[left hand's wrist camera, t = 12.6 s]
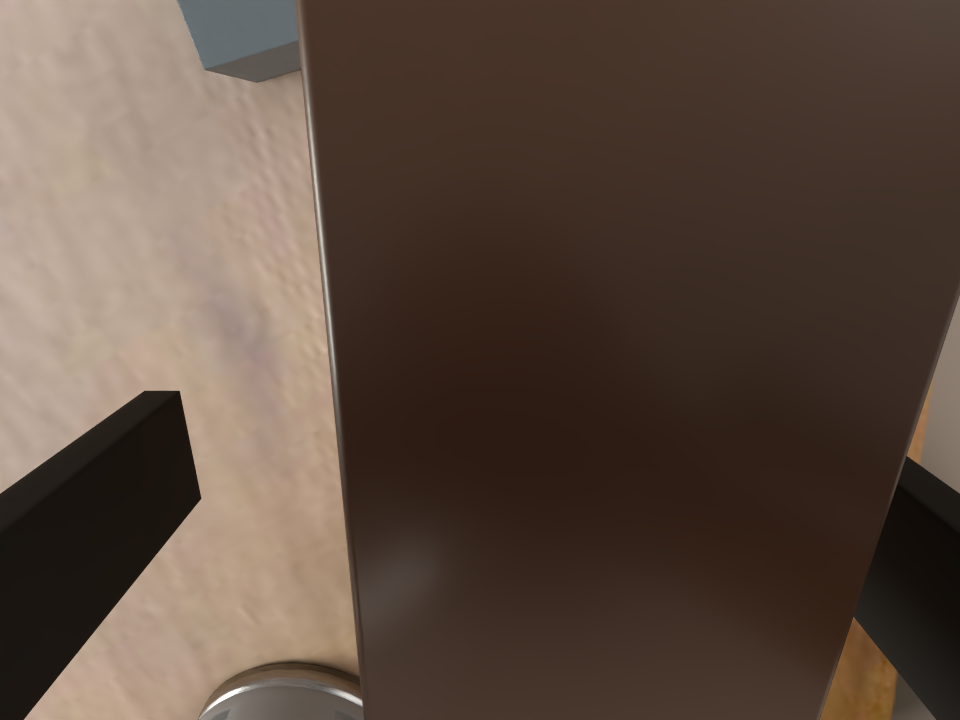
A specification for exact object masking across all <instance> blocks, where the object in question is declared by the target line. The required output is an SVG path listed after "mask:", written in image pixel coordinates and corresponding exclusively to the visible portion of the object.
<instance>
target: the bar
mask: <svg viewBox="0 0 960 720" xmlns="http://www.w3.org/2000/svg"><path fill="white" fill-rule="evenodd" d="M294 1H295V11H296V21H297V32H298V42H299V52H300V63H301V73H302V83H303V94H304V104H305V114H306V125H307V135H308V146H309V156H310V166H311V177H312V187H313V197H314V208H315V218H316V228H317V239H318V249H319V259H320V270H321V280H322V291H323V301H324V311H325V322H326V332H327V342H328V353H329V363H330V373H331V384H332V394H333V404H334V415H335V425H336V436H337V446H338V456H339V467H340V477H341V487H342V498H343V508H344V518H345V529H346V539H347V549H348V560H349V570H350V581H351V591H352V601H353V612H354V622H355V632H356V643H357V653H358V663H359V674H360V684H361V694H362V705H363V715H364V720H819V719H820V716H821V713H822V710H823V707H824V704H825V701H826V698H827V695H828V692H829V689H830V686H831V683H832V680H833V677H834V674H835V671H836V668H837V665H838V662H839V659H840V656H841V653H842V650H843V647H844V643H845V640H846V637H847V634H848V631H849V628H850V625H851V622H852V619H853V616H854V613H855V610H856V607H857V604H858V601H859V598H860V595H861V592H862V589H863V586H864V583H865V580H866V577H867V574H868V571H869V568H870V565H871V562H872V559H873V556H874V553H875V550H876V547H877V544H878V541H879V538H880V535H881V532H882V528H883V525H884V522H885V519H886V516H887V513H888V510H889V507H890V504H891V501H892V498H893V495H894V492H895V489H896V486H897V483H898V480H899V477H900V474H901V471H902V468H903V465H904V462H905V459H906V456H907V453H908V450H909V447H910V444H911V441H912V438H913V435H914V432H915V429H916V426H917V423H918V420H919V416H920V413H921V410H922V407H923V404H924V401H925V398H926V395H927V392H928V389H929V386H930V383H931V380H932V377H933V374H934V371H935V368H936V365H937V362H938V359H939V356H940V353H941V350H942V347H943V344H944V341H945V338H946V335H947V332H948V329H949V326H950V323H951V320H952V317H953V314H954V311H955V308H956V304H957V301H958V298H959V295H960V0H294Z"/></svg>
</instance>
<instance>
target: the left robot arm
mask: <svg viewBox="0 0 960 720" xmlns="http://www.w3.org/2000/svg"><path fill="white" fill-rule="evenodd" d="M200 499H201V495H200V490H199V485H198V480H197V475H196V470H195V465H194V460H193V455H192V450H191V445H190V440H189V435H188V430H187V425H186V420H185V415H184V410H183V405H182V400H181V395H180V391H144V392H142V393H141V394H140V395H138V396H137V397H135V398H134V399H133V400H131V401H130V402H128V403H127V404H125V405H124V406H123V407H121V408H120V409H118V410H117V411H116V412H114V413H113V414H111V415H110V416H109V417H107V418H106V419H104V420H103V421H102V422H100V423H99V424H97V425H96V426H95V427H93V428H92V429H90V430H89V431H88V432H86V433H85V434H83V435H82V436H81V437H79V438H78V439H76V440H75V441H74V442H72V443H71V444H69V445H68V446H67V447H65V448H64V449H62V450H61V451H60V452H58V453H57V454H55V455H54V456H53V457H51V458H50V459H48V460H47V461H46V462H44V463H43V464H41V465H40V466H39V467H37V468H36V469H34V470H33V471H32V472H30V473H29V474H27V475H26V476H25V477H23V478H22V479H20V480H19V481H18V482H16V483H15V484H13V485H12V486H11V487H9V488H8V489H6V490H5V491H4V492H2V493H1V494H0V720H24V719H25V717H26V716H27V715H28V714H29V712H30V711H31V710H32V709H33V707H34V706H35V705H36V704H37V702H38V701H39V700H40V699H41V697H42V696H43V695H44V694H45V692H46V691H47V690H48V689H49V687H50V686H51V685H52V684H53V682H54V681H55V680H56V679H57V677H58V676H59V675H60V674H61V672H62V671H63V670H64V669H65V667H66V666H67V665H68V664H69V663H70V661H71V660H72V659H73V658H74V656H75V655H76V654H77V653H78V651H79V650H80V649H81V648H82V646H83V645H84V644H85V643H86V641H87V640H88V639H89V638H90V636H91V635H92V634H93V633H94V631H95V630H96V629H97V628H98V626H99V625H100V624H101V623H102V621H103V620H104V619H105V618H106V616H107V615H108V614H109V613H110V611H111V610H112V609H113V608H114V607H115V605H116V604H117V603H118V602H119V600H120V599H121V598H122V597H123V595H124V594H125V593H126V592H127V590H128V589H129V588H130V587H131V585H132V584H133V583H134V582H135V580H136V579H137V578H138V577H139V575H140V574H141V573H142V572H143V570H144V569H145V568H146V567H147V565H148V564H149V563H150V562H151V560H152V559H153V558H154V557H155V555H156V554H157V553H158V552H159V551H160V549H161V548H162V547H163V546H164V544H165V543H166V542H167V541H168V539H169V538H170V537H171V536H172V534H173V533H174V532H175V531H176V529H177V528H178V527H179V526H180V524H181V523H182V522H183V521H184V519H185V518H186V517H187V516H188V514H189V513H190V512H191V511H192V509H193V508H194V507H195V506H196V504H197V503H198V502H199V501H200ZM854 618H855V619H856V620H857V621H858V623H859V624H860V625H861V626H862V628H863V629H864V630H865V631H866V633H867V634H868V635H869V636H870V638H871V639H872V640H873V641H874V643H875V644H876V645H877V646H878V648H879V649H880V650H881V651H882V653H883V654H884V655H885V656H886V658H887V659H888V660H889V661H890V663H891V664H892V665H893V666H894V667H895V669H896V670H897V671H898V672H899V674H900V675H901V676H902V677H903V679H904V680H905V681H906V682H907V684H908V685H909V686H910V687H911V689H912V690H913V691H914V692H915V694H916V695H917V696H918V697H919V699H920V700H921V701H922V702H923V704H924V705H925V706H926V707H927V709H928V710H929V711H930V712H931V713H932V715H933V716H934V717H935V719H936V720H960V494H959V493H958V492H956V491H955V490H954V489H952V488H951V487H949V486H948V485H947V484H945V483H944V482H942V481H941V480H940V479H938V478H937V477H935V476H934V475H933V474H931V473H930V472H928V471H927V470H926V469H924V468H923V467H921V466H920V465H919V464H917V463H916V462H914V461H913V460H912V459H910V458H909V457H907V456H906V459H905V462H904V465H903V468H902V471H901V474H900V477H899V480H898V483H897V486H896V489H895V492H894V495H893V498H892V501H891V504H890V507H889V510H888V513H887V516H886V519H885V522H884V525H883V528H882V532H881V535H880V538H879V541H878V544H877V547H876V550H875V553H874V556H873V559H872V562H871V565H870V568H869V571H868V574H867V577H866V580H865V583H864V586H863V589H862V592H861V595H860V598H859V601H858V604H857V607H856V610H855V613H854ZM198 720H364V715H363V705H362V694H361V684H360V679H358V678H356V677H354V676H352V675H349V674H347V673H344V672H341V671H338V670H335V669H331V668H327V667H322V666H317V665H310V664H297V663H284V664H273V665H267V666H261V667H257V668H253V669H250V670H248V671H245V672H242V673H240V674H238V675H236V676H234V677H232V678H230V679H229V680H227V681H226V682H224V683H223V684H222V685H220V686H219V687H218V688H217V689H216V690H215V691H214V692H213V693H212V695H211V696H210V697H209V699H208V700H207V702H206V704H205V706H204V708H203V710H202V712H201V714H200V716H199V718H198Z"/></svg>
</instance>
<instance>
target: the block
mask: <svg viewBox="0 0 960 720" xmlns="http://www.w3.org/2000/svg"><path fill="white" fill-rule="evenodd" d="M177 2H178V4H179V7H180V9H181V12H182V15H183V17H184V20H185V22H186V25H187V27H188V30H189V33H190V35H191V38H192V40H193V43H194V45H195V48H196V50H197V53H198V56H199V58H200V61H201V63H202V66H203V68H204V70H207V71H211V72H215V73H220V74H224V75H228V76H232V77H236V78H240V79H244V80H248V81H252V82H260V81H264V80H267V79H270V78H273V77H277V76H280V75H283V74H287V73H290V72H293V71H296V70H300V69H301V63H300V52H299V42H298V32H297V21H296V11H295V1H294V0H177Z"/></svg>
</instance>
